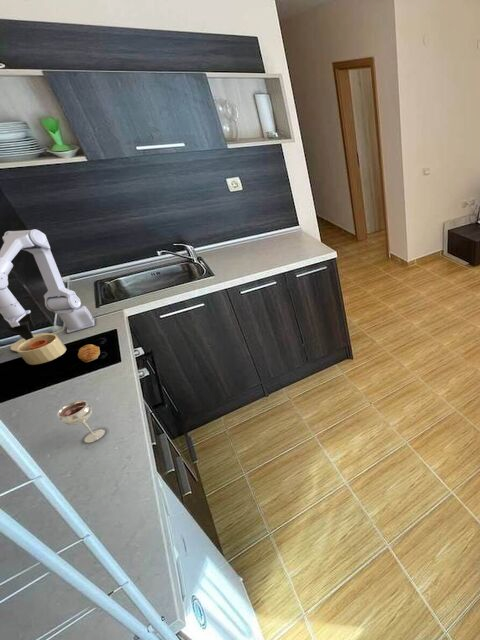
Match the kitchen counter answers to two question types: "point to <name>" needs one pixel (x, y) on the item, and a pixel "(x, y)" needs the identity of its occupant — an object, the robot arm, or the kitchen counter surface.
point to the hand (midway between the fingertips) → (30, 334)
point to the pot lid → (23, 341)
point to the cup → (38, 344)
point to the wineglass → (79, 418)
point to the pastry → (88, 353)
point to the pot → (41, 349)
